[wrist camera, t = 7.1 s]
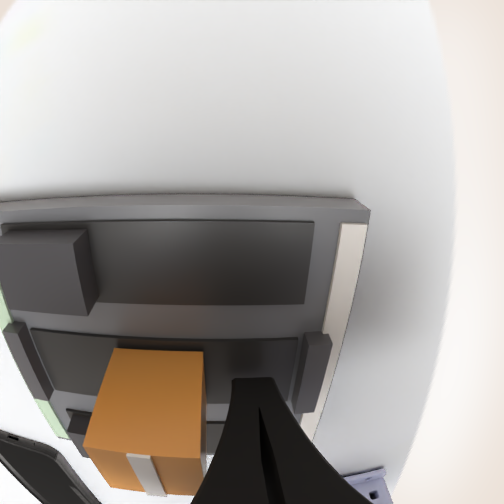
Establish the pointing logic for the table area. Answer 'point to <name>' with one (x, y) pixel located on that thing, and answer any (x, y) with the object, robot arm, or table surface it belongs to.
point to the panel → (179, 294)
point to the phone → (43, 471)
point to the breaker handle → (151, 422)
